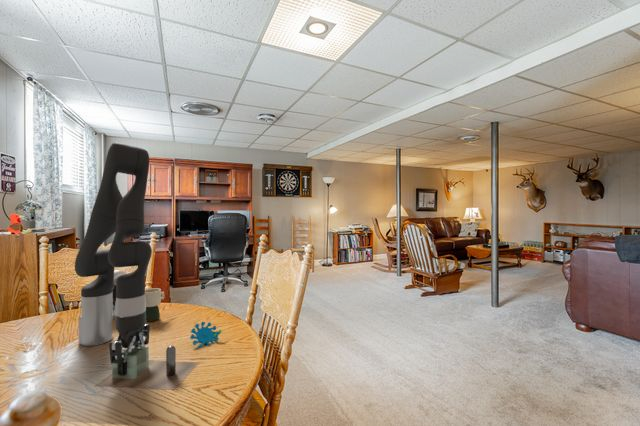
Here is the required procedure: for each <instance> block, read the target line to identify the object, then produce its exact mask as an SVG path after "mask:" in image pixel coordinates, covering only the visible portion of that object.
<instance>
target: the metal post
mask: <svg viewBox="0 0 640 426" xmlns="http://www.w3.org/2000/svg"><path fill="white" fill-rule="evenodd" d="M176 350H177V349H176V347H175V346H174V345H168V346H167V348H166V351H165V353H166V354H165V355H166V356H165V357H166V358H165V361H166V376H168V377H171V376H174V375H175V374H176V362H177V360H176V356H177V355H176V352H177V351H176Z"/></svg>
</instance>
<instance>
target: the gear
mask: <svg viewBox="0 0 640 426" xmlns="http://www.w3.org/2000/svg"><path fill="white" fill-rule="evenodd" d="M205 324H206V326H205ZM200 326H201V327H200ZM211 326H212V323H211V321H210V322H207V323H206V322H205V321H201V322H200V323H196V324H194V328H192V329H191V330H190V333H191V334H190V336H189V337H190V339H191V340H193V341H192V344H193V346H196V345H197V344H199V345H198V346H197V348H200V349H202V348H203V347H204V345H205V344H206V345H205V347H208V346H209V345H210V343H211V345H216V343H217V342H218V341H219V339H220V338H219V335H220V334H222V332H223V330H222V329H219V330H218V331H216V330H217V325H213V326H212V327H211ZM196 330H197V331H196ZM195 335H196V336H195Z"/></svg>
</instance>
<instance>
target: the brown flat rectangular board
mask: <svg viewBox="0 0 640 426" xmlns="http://www.w3.org/2000/svg"><path fill="white" fill-rule="evenodd" d="M199 364H200V362H194V361H188V362H187V361H176V374H175V375H174V376H171V377H168V376H166V360H153V359H152V360H151V359H149V367H148V368H147V369H146V370H144V371H143V372H142V373H141V374H140V375H138V376H137V377H136V378H135V379H122V378H112V373H110V374H109V375H108V376H106V377H105V378H104V379H102V380H101V381H99V382H98V383H97V384H96V385H95V387H110V388H111V387H112V388H126V389H127V388H128V389H129V388H130V389H131V388H132V389H147V390H149V389H150V390H166V391H167V390H168V391H170V390H171V391H175V390H176V389H177V388H178V387H179V386H180V384H181V383H182V382H183V381H184V380H185V379H186V378H187V377H188V376H189V375H190V374H191V372H193V370H194V369H195V368H196V367H197V366H198V365H199Z"/></svg>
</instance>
